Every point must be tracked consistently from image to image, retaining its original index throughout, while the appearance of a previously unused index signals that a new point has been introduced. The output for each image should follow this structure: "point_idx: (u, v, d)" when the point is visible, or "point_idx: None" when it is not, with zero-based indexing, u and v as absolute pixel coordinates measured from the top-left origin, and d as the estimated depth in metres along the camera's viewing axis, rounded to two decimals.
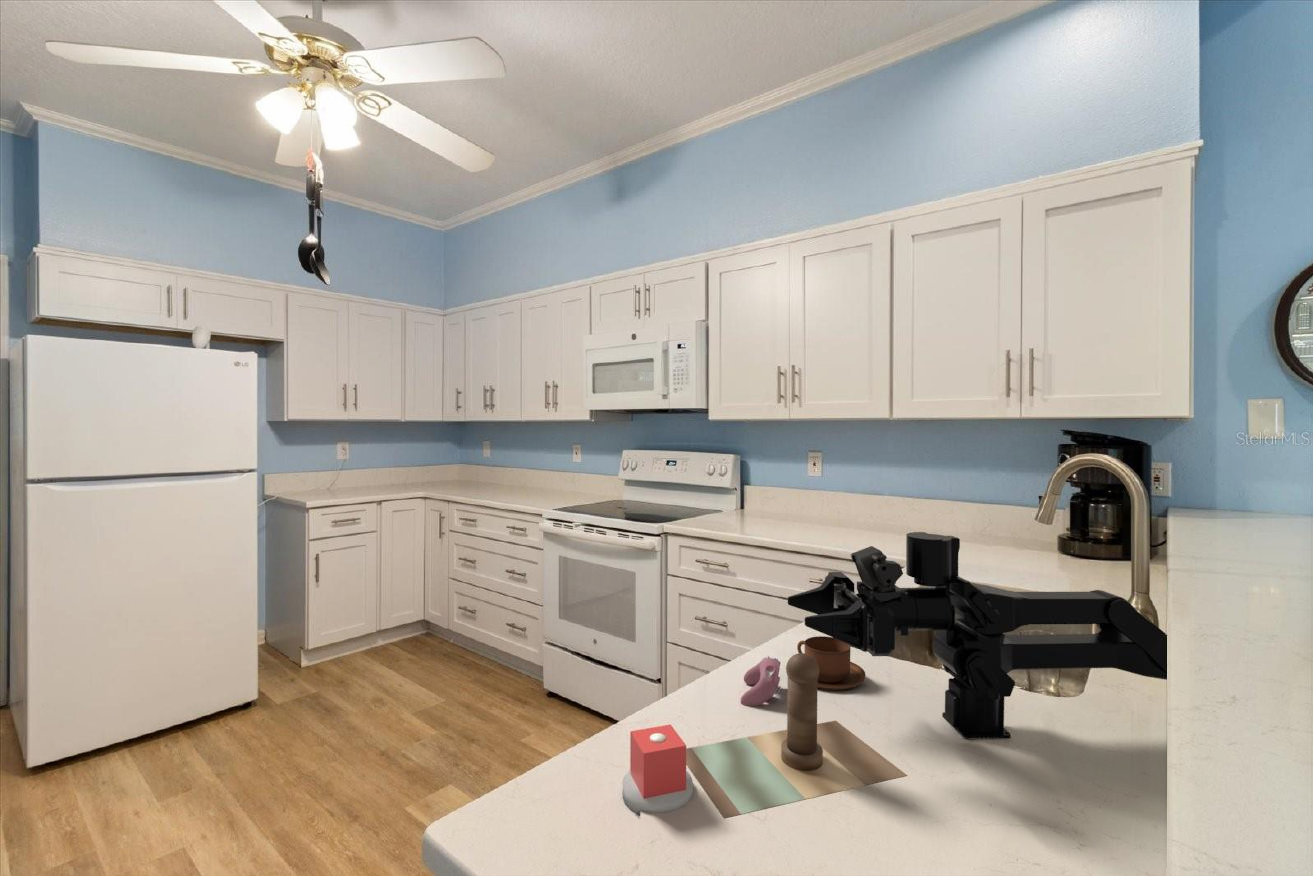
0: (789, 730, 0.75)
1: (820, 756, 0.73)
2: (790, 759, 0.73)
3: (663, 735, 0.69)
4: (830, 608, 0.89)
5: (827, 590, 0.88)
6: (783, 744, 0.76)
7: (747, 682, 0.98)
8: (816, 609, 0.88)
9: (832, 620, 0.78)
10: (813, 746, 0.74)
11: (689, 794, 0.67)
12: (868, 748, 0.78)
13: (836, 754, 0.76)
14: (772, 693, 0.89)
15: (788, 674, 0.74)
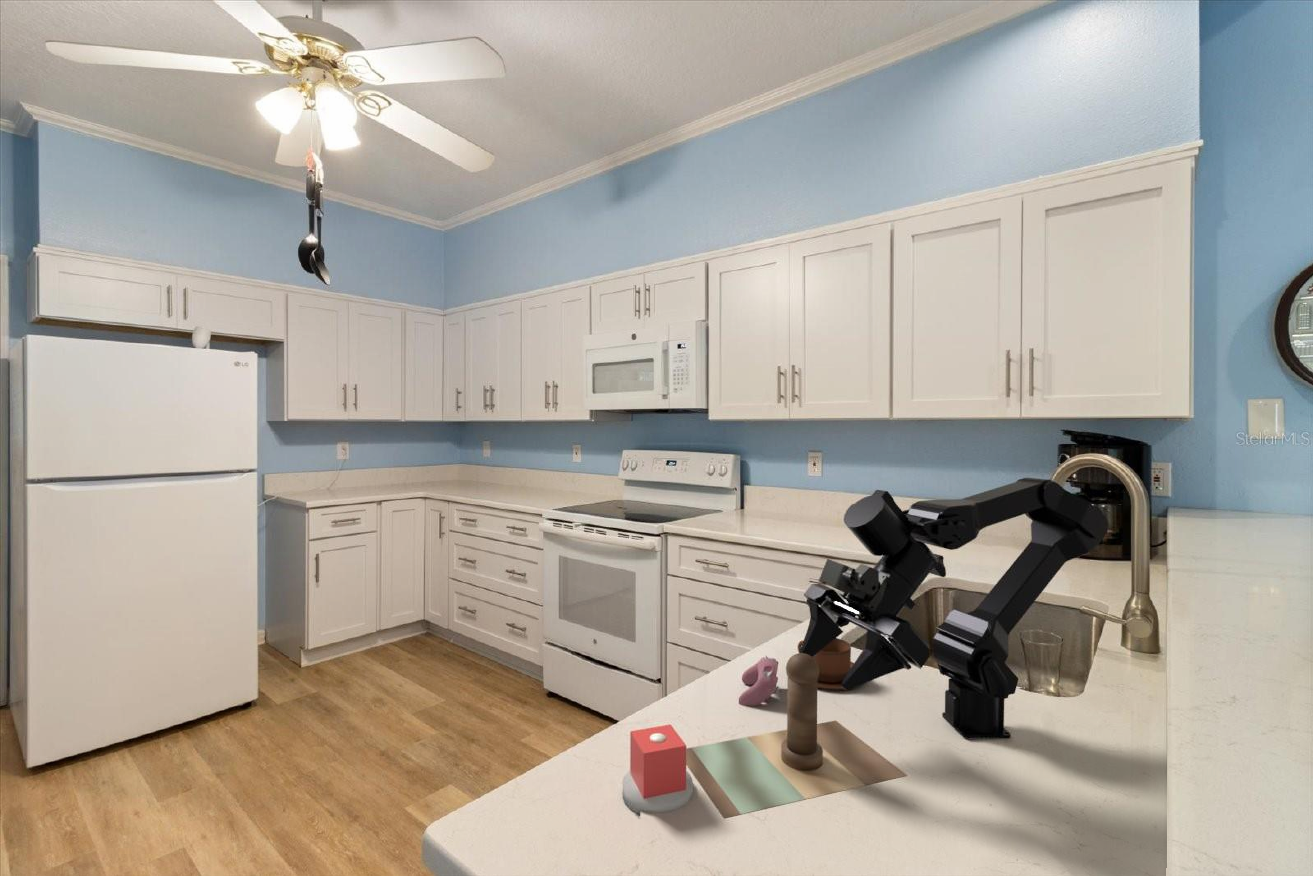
0: (789, 730, 0.75)
1: (820, 756, 0.73)
2: (790, 759, 0.73)
3: (663, 735, 0.69)
4: (834, 627, 0.82)
5: (820, 617, 0.82)
6: (783, 744, 0.76)
7: (745, 682, 0.98)
8: (825, 640, 0.82)
9: (864, 667, 0.71)
10: (813, 746, 0.74)
11: (689, 794, 0.67)
12: (868, 748, 0.78)
13: (836, 754, 0.76)
14: (770, 692, 0.89)
15: (788, 674, 0.74)
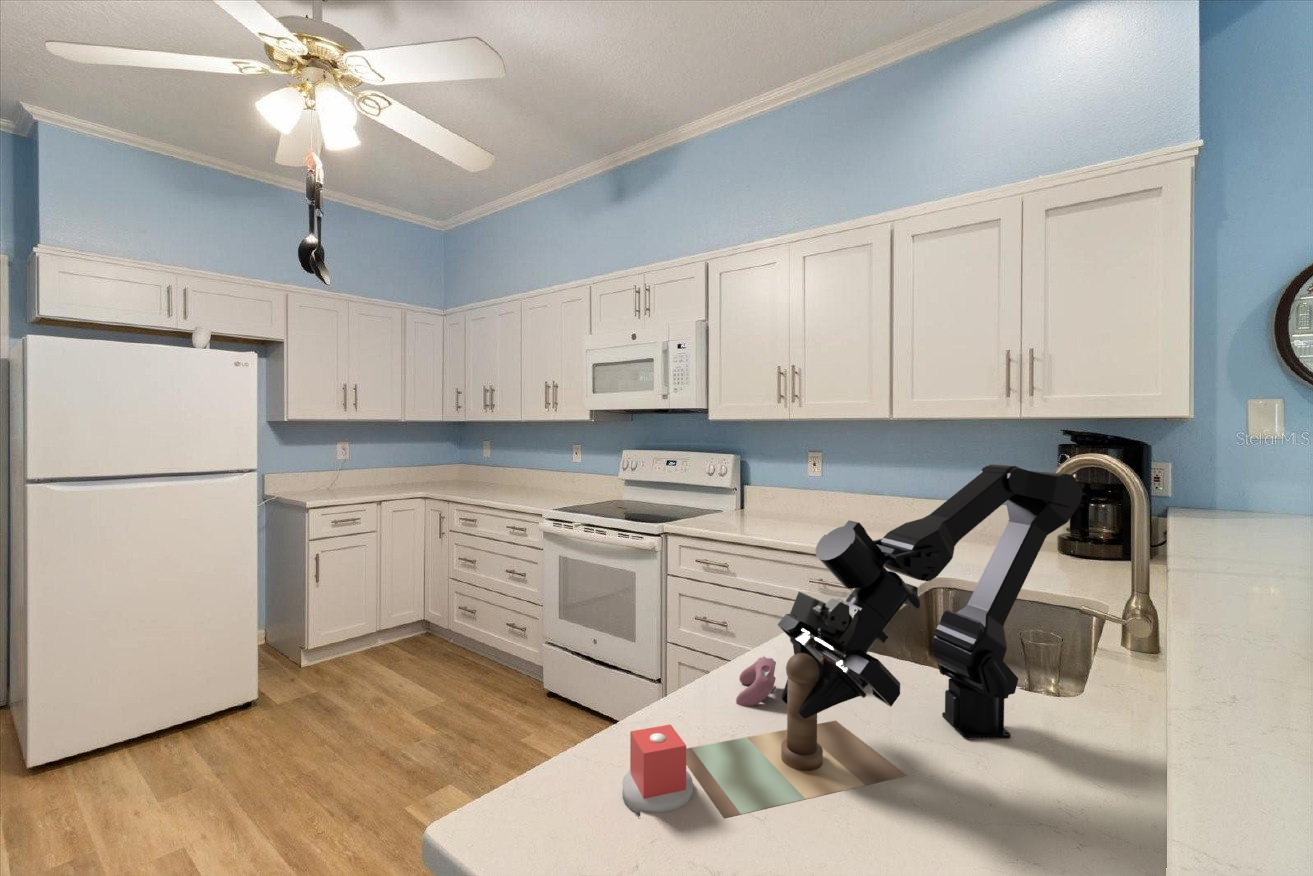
0: (789, 730, 0.75)
1: (820, 756, 0.73)
2: (790, 759, 0.73)
3: (663, 735, 0.69)
4: (819, 666, 0.79)
5: None
6: (783, 744, 0.76)
7: (743, 682, 0.98)
8: None
9: (820, 695, 0.72)
10: (813, 746, 0.74)
11: (689, 794, 0.67)
12: (868, 748, 0.78)
13: (836, 754, 0.76)
14: (767, 692, 0.89)
15: (788, 674, 0.74)
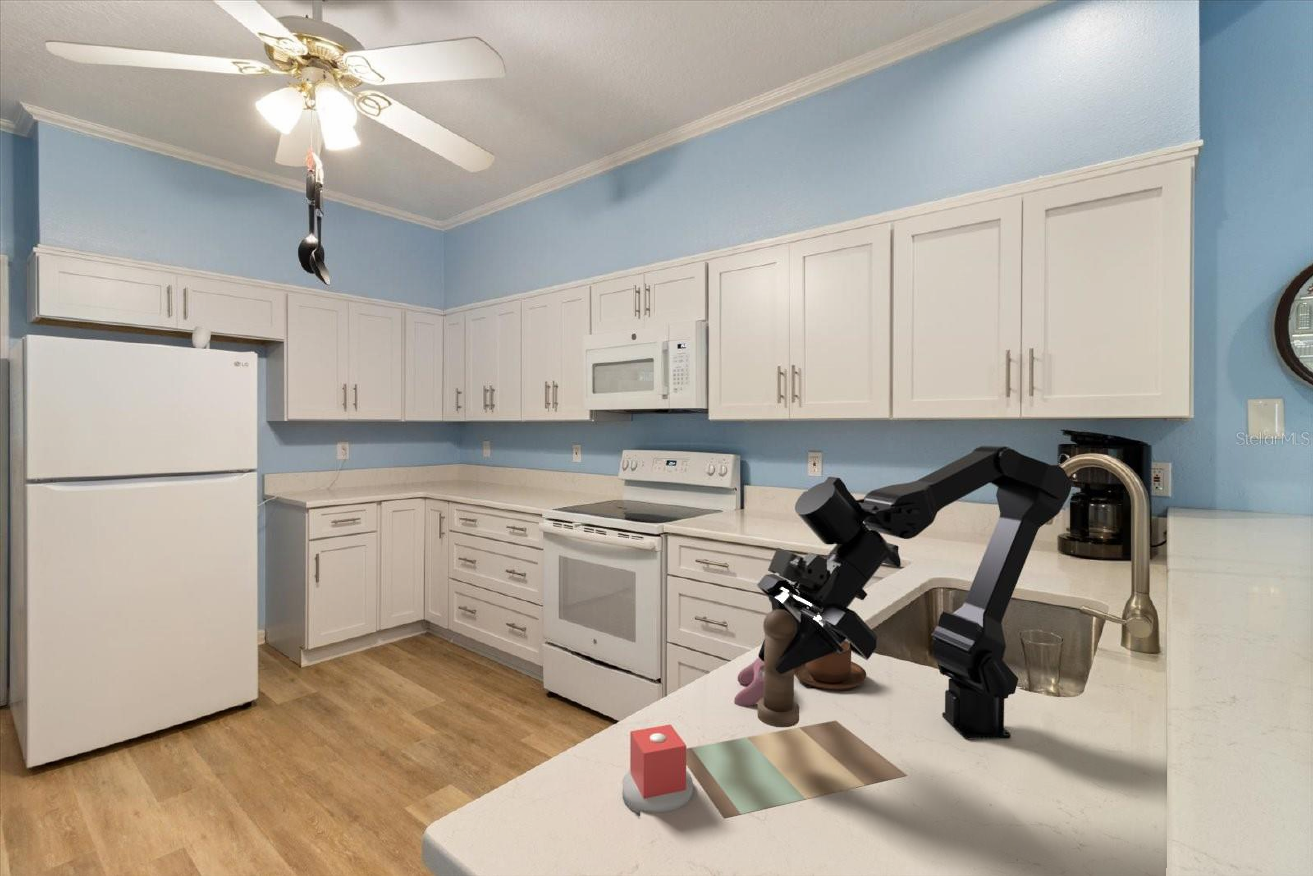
0: (765, 687, 0.73)
1: (796, 713, 0.72)
2: (766, 716, 0.72)
3: (663, 735, 0.69)
4: (797, 625, 0.77)
5: None
6: (760, 702, 0.75)
7: (741, 682, 0.98)
8: None
9: (797, 650, 0.71)
10: (789, 703, 0.72)
11: (689, 794, 0.67)
12: (868, 748, 0.78)
13: (836, 754, 0.76)
14: None
15: (765, 630, 0.73)
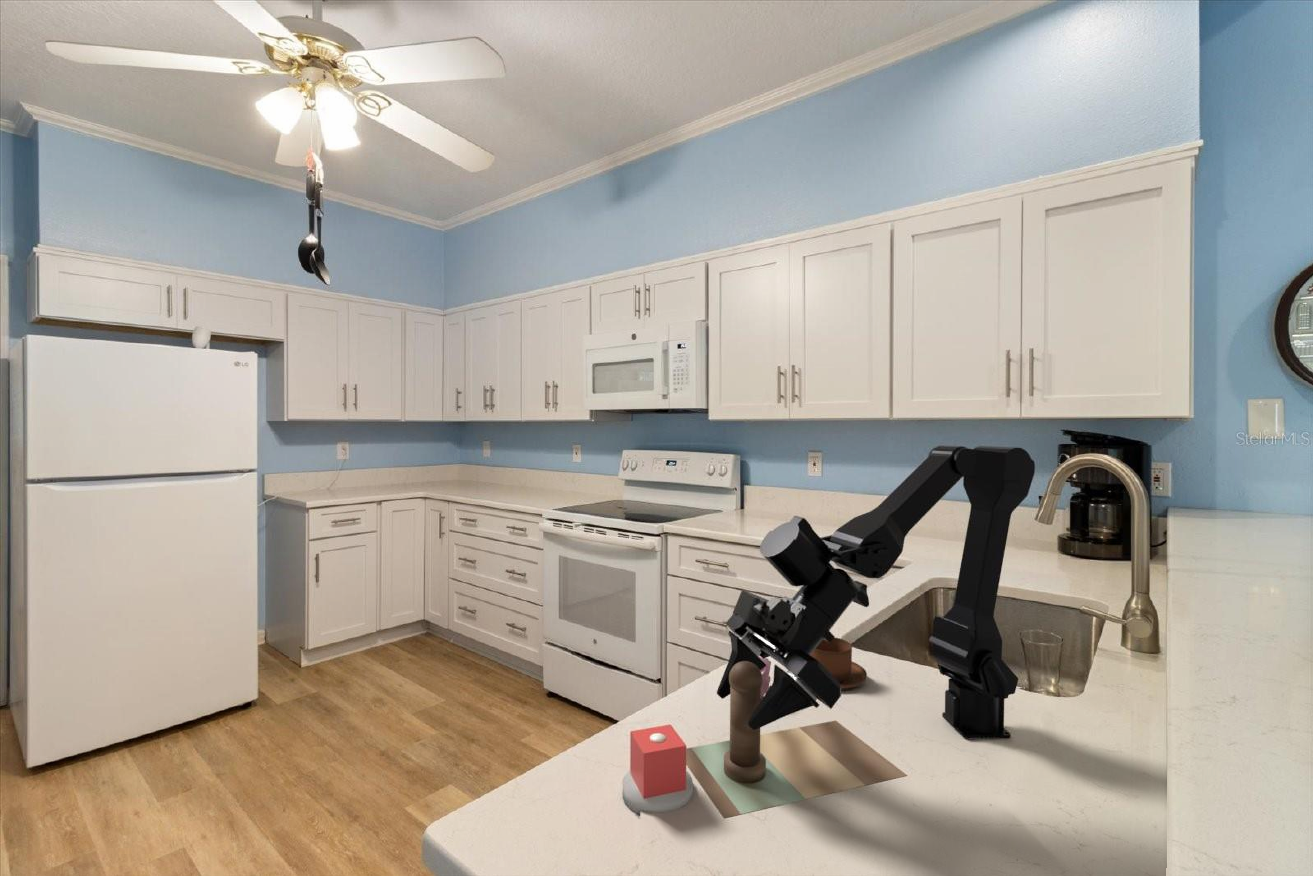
0: (731, 741, 0.72)
1: (762, 768, 0.71)
2: (732, 771, 0.71)
3: (663, 735, 0.69)
4: (756, 661, 0.78)
5: (741, 651, 0.77)
6: (726, 755, 0.73)
7: None
8: None
9: (770, 705, 0.68)
10: (755, 758, 0.71)
11: (689, 794, 0.67)
12: (868, 748, 0.78)
13: (836, 754, 0.76)
14: (762, 692, 0.89)
15: (730, 683, 0.72)
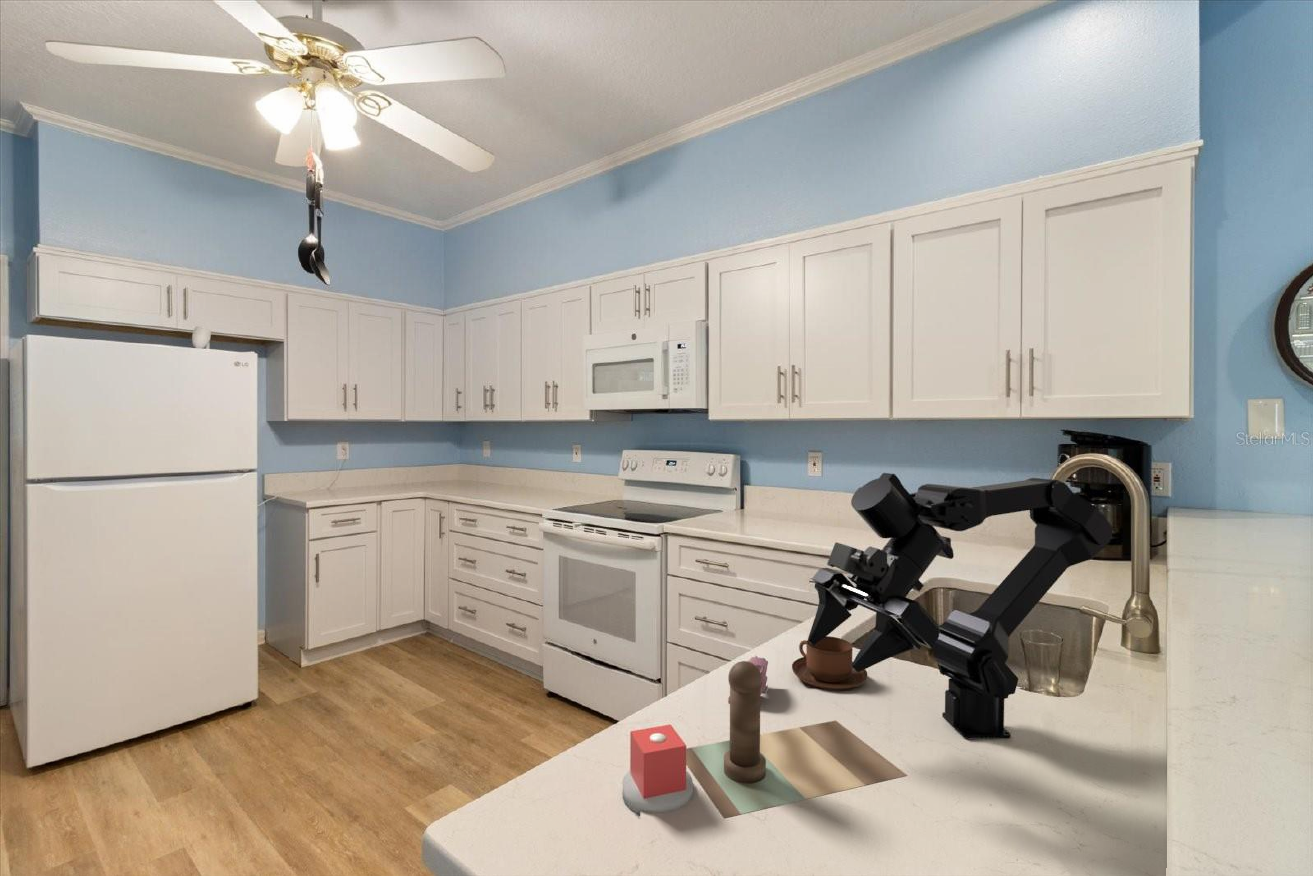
0: (731, 741, 0.72)
1: (762, 768, 0.71)
2: (732, 771, 0.71)
3: (663, 735, 0.69)
4: (842, 610, 0.83)
5: (829, 601, 0.82)
6: (726, 755, 0.73)
7: None
8: (834, 623, 0.82)
9: (874, 648, 0.71)
10: (755, 758, 0.71)
11: (689, 794, 0.67)
12: (868, 748, 0.78)
13: (836, 754, 0.76)
14: None
15: (730, 683, 0.72)
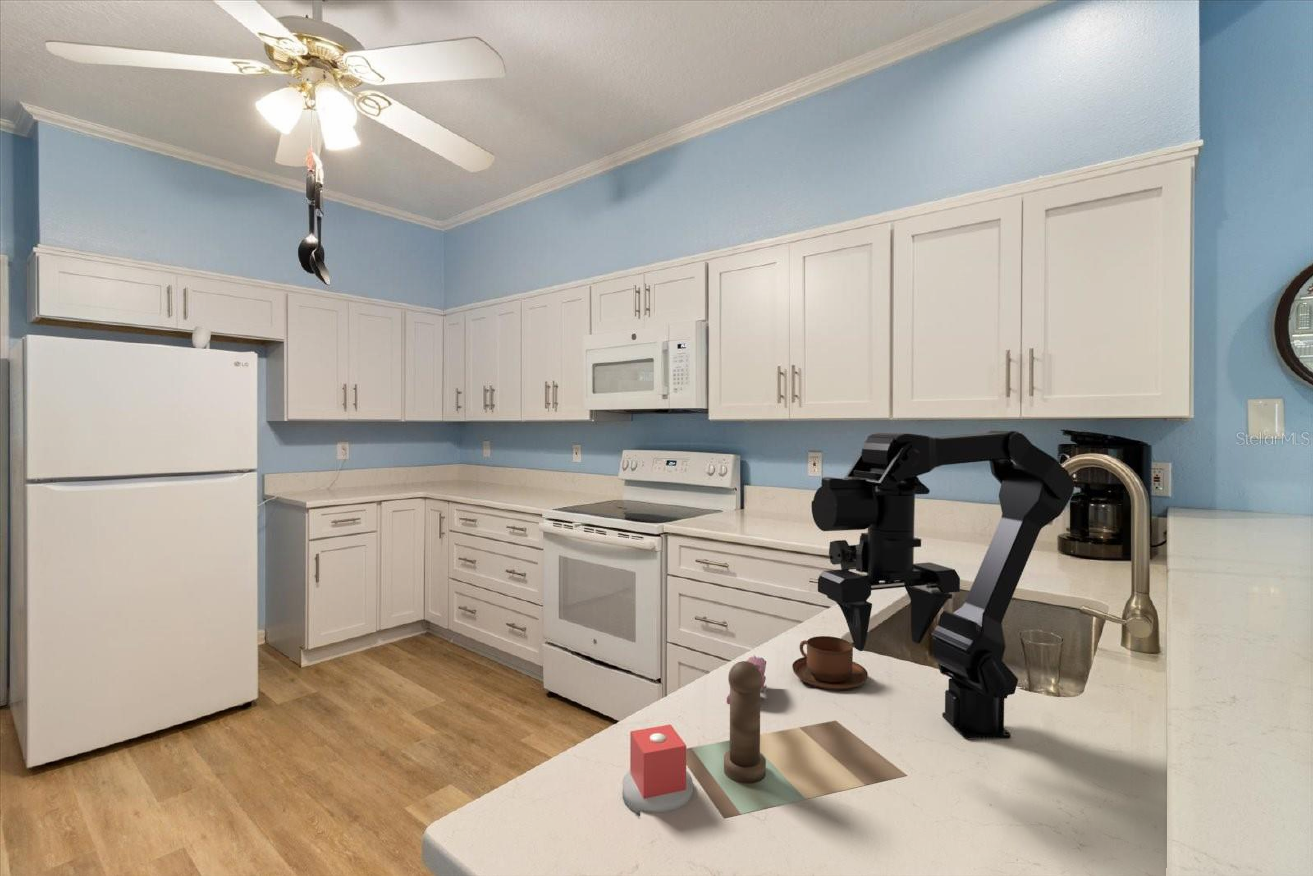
0: (731, 741, 0.72)
1: (762, 768, 0.71)
2: (732, 771, 0.71)
3: (663, 735, 0.69)
4: (927, 597, 0.80)
5: (912, 595, 0.83)
6: (726, 755, 0.73)
7: None
8: (926, 613, 0.80)
9: (850, 624, 0.78)
10: (755, 758, 0.71)
11: (689, 794, 0.67)
12: (868, 748, 0.78)
13: (836, 754, 0.76)
14: None
15: (730, 683, 0.72)
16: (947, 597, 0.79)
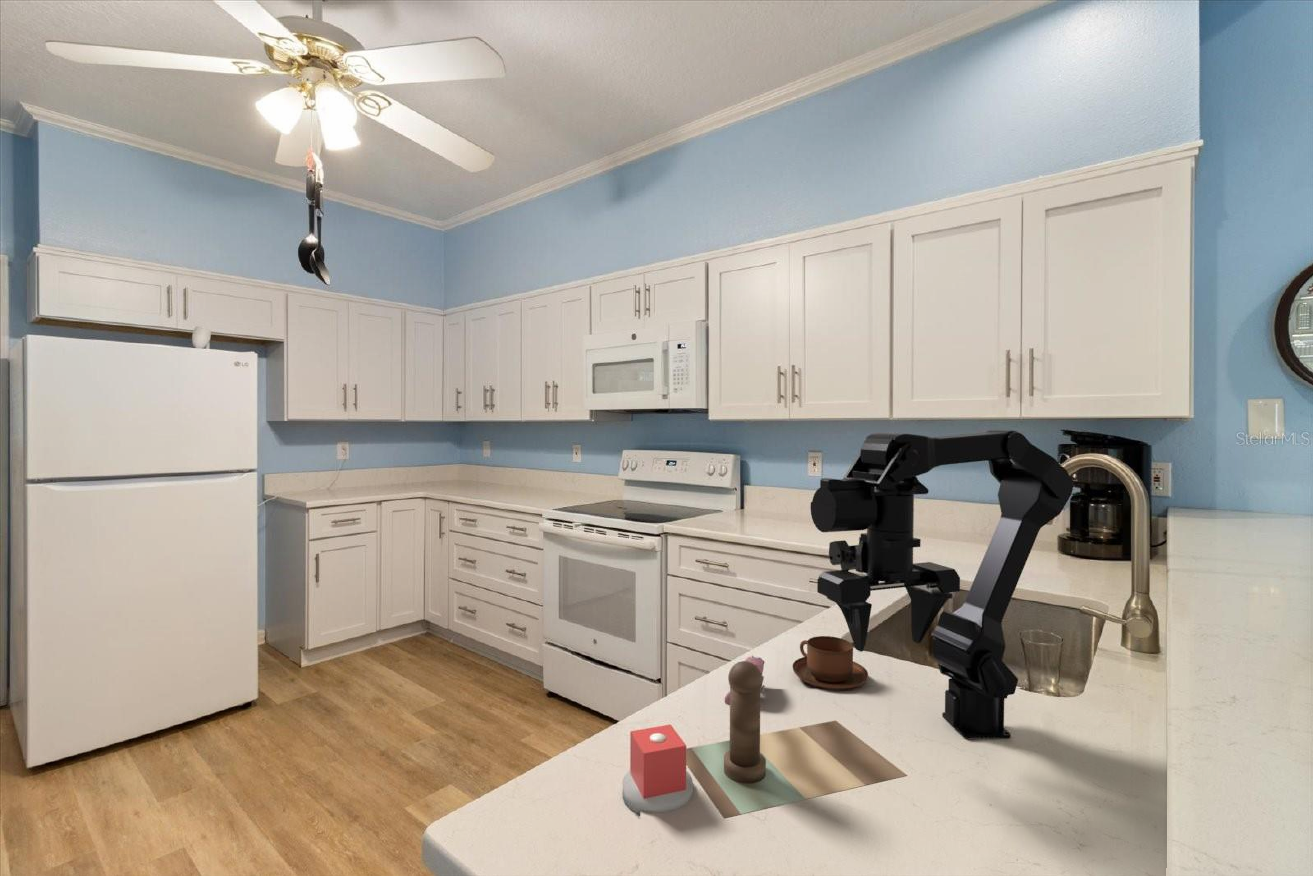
0: (731, 741, 0.72)
1: (762, 768, 0.71)
2: (732, 771, 0.71)
3: (663, 735, 0.69)
4: (927, 597, 0.80)
5: (912, 595, 0.83)
6: (726, 755, 0.73)
7: None
8: (926, 613, 0.80)
9: (850, 625, 0.78)
10: (755, 758, 0.71)
11: (689, 794, 0.67)
12: (868, 748, 0.78)
13: (836, 754, 0.76)
14: None
15: (730, 683, 0.72)
16: (947, 597, 0.79)
